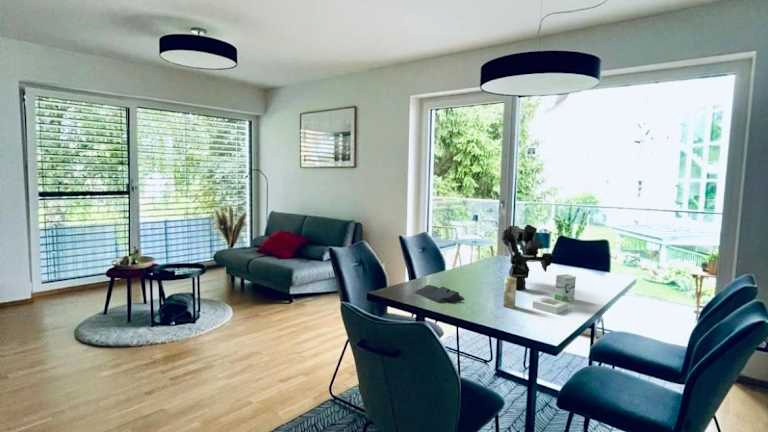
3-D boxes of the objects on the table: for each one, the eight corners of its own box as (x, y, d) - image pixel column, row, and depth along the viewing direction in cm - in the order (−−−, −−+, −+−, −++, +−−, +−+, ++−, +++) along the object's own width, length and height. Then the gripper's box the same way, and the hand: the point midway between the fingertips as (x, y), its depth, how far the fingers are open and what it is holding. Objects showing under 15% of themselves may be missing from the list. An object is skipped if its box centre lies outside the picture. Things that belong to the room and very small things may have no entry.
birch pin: (501, 305, 192) (502, 277, 191) (507, 304, 195) (508, 276, 194) (510, 308, 188) (512, 279, 187) (517, 306, 192) (518, 278, 190)
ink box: (562, 302, 201) (564, 277, 200) (553, 299, 205) (555, 275, 204) (574, 300, 205) (576, 276, 204) (565, 297, 209) (567, 273, 208)
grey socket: (532, 307, 191) (532, 301, 191) (544, 303, 198) (544, 297, 198) (556, 314, 183) (556, 307, 182) (567, 309, 190) (568, 302, 190)
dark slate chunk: (436, 289, 218) (436, 280, 217) (466, 301, 200) (467, 291, 199) (412, 293, 209) (412, 283, 209) (441, 305, 191) (442, 295, 191)
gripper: (511, 235, 204) (518, 256, 191) (550, 236, 204) (560, 258, 191) (507, 253, 211) (514, 274, 198) (545, 254, 210) (554, 276, 198)
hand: (535, 270), depth 196 cm, fingers open, 9 cm apart
